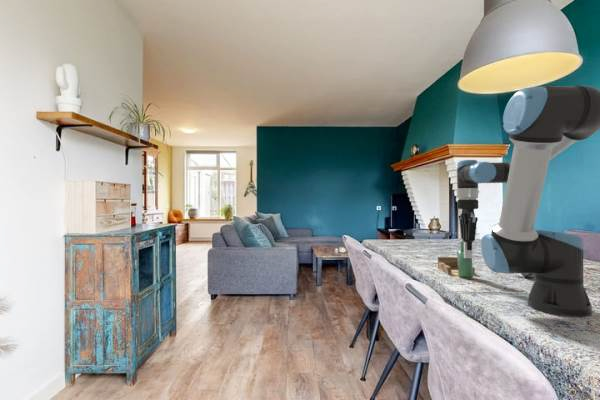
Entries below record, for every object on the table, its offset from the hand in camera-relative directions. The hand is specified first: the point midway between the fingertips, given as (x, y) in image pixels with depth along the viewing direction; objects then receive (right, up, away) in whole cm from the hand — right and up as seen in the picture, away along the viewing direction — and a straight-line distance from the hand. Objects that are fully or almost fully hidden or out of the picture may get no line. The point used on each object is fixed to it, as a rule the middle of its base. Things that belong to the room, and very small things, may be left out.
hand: (467, 257), depth 133 cm
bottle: (0, -8, +2) cm, 8 cm away
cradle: (+1, -10, +11) cm, 15 cm away
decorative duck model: (+31, -10, +5) cm, 33 cm away
